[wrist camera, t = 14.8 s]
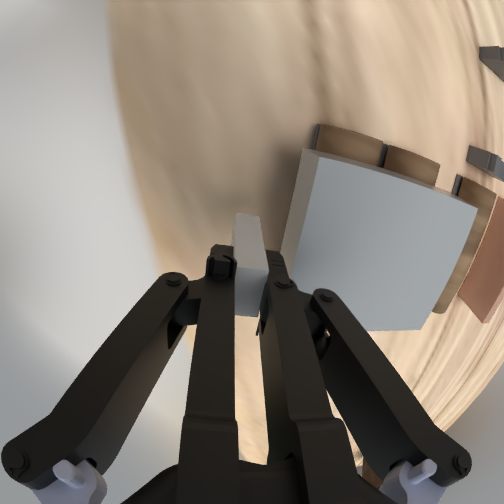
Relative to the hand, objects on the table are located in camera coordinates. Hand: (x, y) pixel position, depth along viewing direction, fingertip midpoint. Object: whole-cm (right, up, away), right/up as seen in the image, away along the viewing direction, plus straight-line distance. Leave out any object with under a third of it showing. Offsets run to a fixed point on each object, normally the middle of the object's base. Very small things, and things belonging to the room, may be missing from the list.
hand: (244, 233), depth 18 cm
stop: (+34, -1, +10) cm, 35 cm away
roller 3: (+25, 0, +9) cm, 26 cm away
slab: (+10, 0, +3) cm, 10 cm away
